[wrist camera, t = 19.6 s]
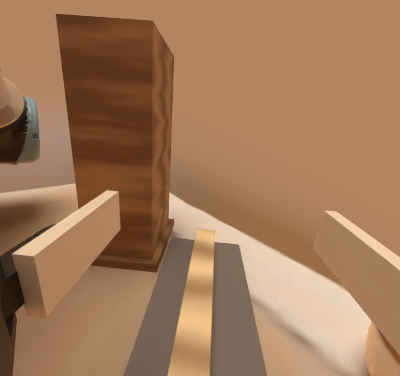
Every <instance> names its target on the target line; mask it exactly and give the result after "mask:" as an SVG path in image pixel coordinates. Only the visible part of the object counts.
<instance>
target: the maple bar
mask: <svg viewBox="0 0 400 376" xmlns="http://www.w3.org/2000/svg"><path fill="white" fill-rule="evenodd" d="M214 239H215V231H211V230H203V229H197V231H196V236H195V241H194V246H193V251H192V256H191V261H190V266H189V271H188V276H187V281H186V286H185V291H184V296H183V301H182V306H181V311H180V316H179V321H178V326H177V331H176V336H175V341H174V346H173V351H172V355H171V360H170V365H169V370H168V375H167V376H210V352H211V324H212V296H213V268H214Z"/></svg>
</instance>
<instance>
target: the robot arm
mask: <svg viewBox="0 0 400 376" xmlns="http://www.w3.org/2000/svg"><path fill="white" fill-rule="evenodd" d="M39 155H40V140H39V121H38V110H37V103H36V101H34V100H33V99H30V98H27V97H26V96H22V94H21V92H20V90H19V89H18V88H17V87H16V86H15V85H14V84H13V83H12V82H11V81H9V80H8V79H6V78H5V77H3V76H2V73H1V70H0V164H12V165H16V164H18V163H30V162H34V161H36V160H37V159H38V158H39ZM119 230H120V210H119V191H108V190H107V191H105V192H104V193H102V194H101V195H99V196H98V197H96V198H95V199H93V200H92V201H90V202H89V203H87V204H86V205H84V206H83V207H81V208H80V209H78V210H77V211H75V212H74V213H72V214H71V215H69V216H68V217H66V218H65V219H63V220H62V221H60V222H59V223H57V224H54V225H51V226H48V227H46V228H43V229H42V230H40V231H39V232H37V233H35V234H34V235H33V236H31V237H29V238H28V239H26V240H25V241H23V242H21V243H20V244H18V245H17V246H15V247H14V248H12V249H10V250H9V251H7V252H6V253H4V254H3V255H1V256H0V376H13V362H14V349H15V336H16V323H17V318H16V315H15V312H16V311H17V310H18V309H19V308H20V307H21V306H22V305H23V304H24V305H25V309H26V313H27V315H29V316H38V317H48V315H49V314H50V313H51V312H52V311H53V309H54V308H55V307H56V306H57V305H58V303H59V302H60V301H61V300H62V299H63V297H64V296H65V295H66V294H67V293H68V291H69V290H70V289H71V288H72V287H73V285H74V284H75V283H76V282H77V281H78V280H79V278H80V277H81V276H82V275H83V274H84V272H85V271H86V270H87V269H88V268H89V266H90V265H91V264H92V263H93V262H94V260H95V259H96V258H97V257H98V256H99V254H100V253H101V252H102V251H103V250H104V248H105V247H106V246H107V245H108V244H109V242H110V241H111V240H112V239H113V238H114V236H115V235H116V234H117V233H118V232H119ZM313 248H314V249H315V251H316V252H317V253H318V255H319V256H320V257H321V258H322V260H323V261H324V262H325V263H326V265H327V266H328V267H329V268H330V270H331V271H332V272H333V273H334V274H335V276H336V277H337V278H338V279H339V281H340V282H341V283H342V284H343V286H344V287H345V288H346V289H347V291H348V292H349V293H350V294H351V296H352V297H353V298H354V299H355V301H356V302H357V303H358V304H359V306H360V307H361V308H362V309H363V311H364V312H365V313H366V314H367V315H368V317H369V318H370V319H371V320H372V322H373V323H374V324H375V325H376V327H377V328H378V329H379V330H380V332H381V333H382V334H383V335H384V337H385V338H386V339H387V340H388V342H389V343H390V344H391V345H392V346H393V348H394V349H395V350H396V351H397V353H398V354H399V355H400V257H398V256H397V255H396V254H394V253H393V252H392V251H390V250H389V249H387V248H386V247H384V246H383V245H382V244H381V243H379V242H378V241H376V240H375V239H374V238H372V237H371V236H369V235H368V234H366V233H365V232H364V231H363V230H361V229H360V228H358V227H357V226H355V225H354V224H353V223H351V222H350V221H348V220H347V219H346V218H344V217H343V216H342V215H340V214H339V213H338V212H335V211H324V212H323V216H322V219H321V222H320V226H319V229H318V233H317V236H316V239H315V243H314V246H313Z"/></svg>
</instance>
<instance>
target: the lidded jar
mask: <svg viewBox="0 0 400 376" xmlns="http://www.w3.org/2000/svg"><path fill="white" fill-rule="evenodd" d="M366 359H367V366H368V370H369V374H370V376H400V355H399V354H398V353H397V351H396V350H395V349H394V348H393V346H392V345H391V344H390V343H389V342H388V340H387V339H386V338H385V337H384V335H383V334H382V333H381V332H380V330H379V329H378V328H377V327H376V325H375V324H374V323H373V322H372V321H371V324H370V327H369V330H368V334H367V341H366Z"/></svg>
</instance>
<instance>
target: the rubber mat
mask: <svg viewBox="0 0 400 376" xmlns="http://www.w3.org/2000/svg"><path fill="white" fill-rule="evenodd" d="M194 241H195V240H188V239H179V238H172V239H171V241H170V244H169V247H168V250H167V253H166V256H165V259H164V262H163V265H162V267H161V270H160V273H159V276H158V279H157V282H156V285H155V288H154V291H153V293H152V296H151V299H150V302H149V305H148V308H147V311H146V314H145V317H144V319H143V322H142V325H141V328H140V331H139V334H138V337H137V340H136V342H135V345H134V348H133V351H132V354H131V357H130V360H129V363H128V366H127V368H126V371H125V374H124V376H167V375H168V370H169V365H170V360H171V355H172V351H173V346H174V341H175V336H176V331H177V326H178V321H179V316H180V311H181V306H182V301H183V296H184V291H185V286H186V281H187V276H188V271H189V266H190V261H191V256H192V251H193V246H194ZM210 376H267V374H266V369H265V365H264V360H263V355H262V351H261V346H260V341H259V337H258V332H257V327H256V323H255V318H254V313H253V309H252V304H251V299H250V294H249V290H248V285H247V280H246V276H245V271H244V266H243V262H242V257H241V252H240V248H239V245H237V244H227V243H218V242H214V268H213V296H212V324H211V352H210Z"/></svg>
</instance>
